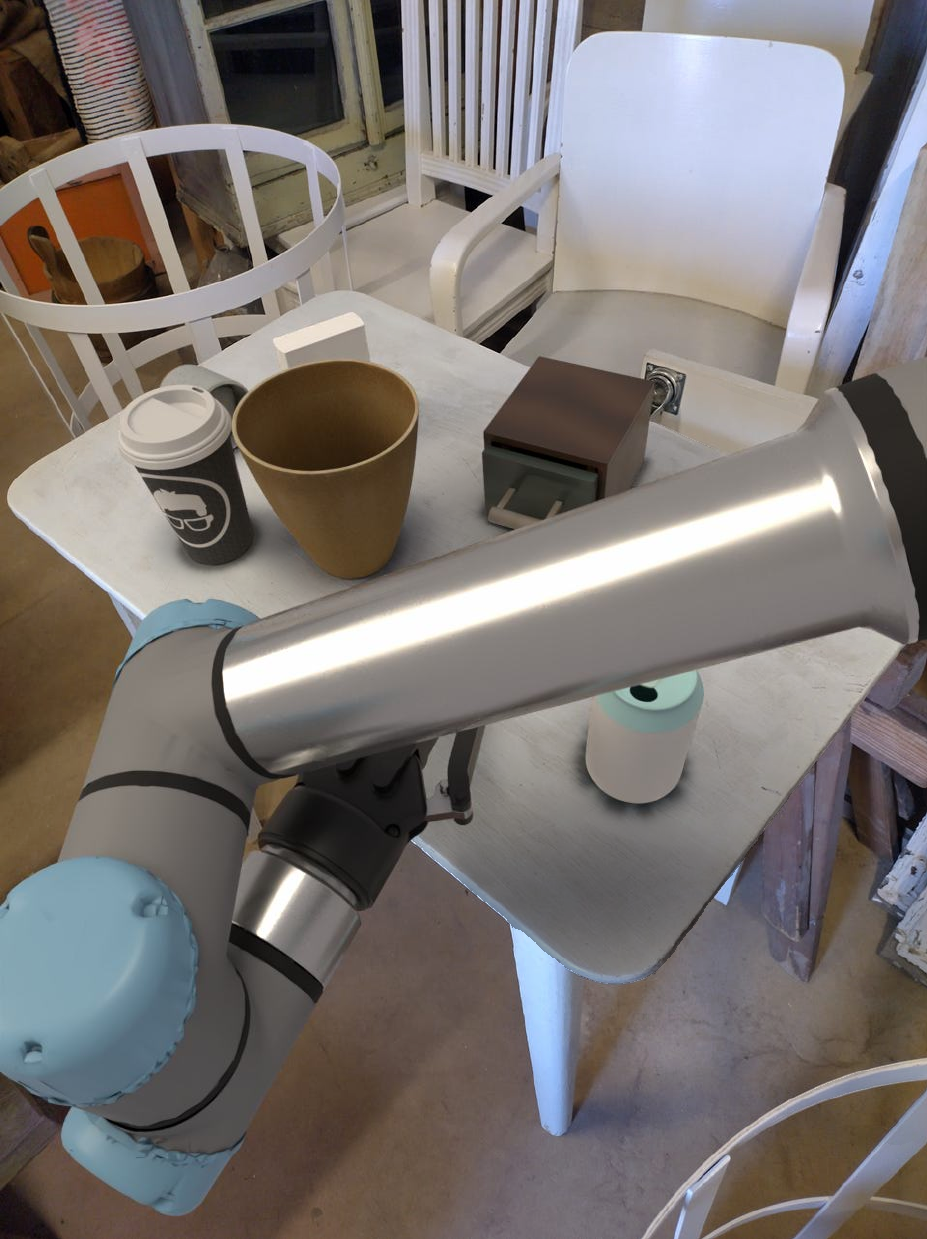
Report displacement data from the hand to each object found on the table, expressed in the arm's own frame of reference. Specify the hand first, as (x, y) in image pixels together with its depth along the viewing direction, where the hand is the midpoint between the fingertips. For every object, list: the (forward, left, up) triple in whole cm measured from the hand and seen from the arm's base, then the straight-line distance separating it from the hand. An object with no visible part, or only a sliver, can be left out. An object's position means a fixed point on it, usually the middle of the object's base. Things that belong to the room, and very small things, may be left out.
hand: (491, 587), depth 58 cm
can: (-13, +3, -12) cm, 17 cm away
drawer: (+3, -20, -10) cm, 23 cm away
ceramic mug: (+42, -16, -12) cm, 47 cm away
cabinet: (+3, -24, -11) cm, 27 cm away
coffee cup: (+31, -4, -12) cm, 34 cm away
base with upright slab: (+29, -23, -12) cm, 39 cm away
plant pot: (+18, -8, -12) cm, 23 cm away
